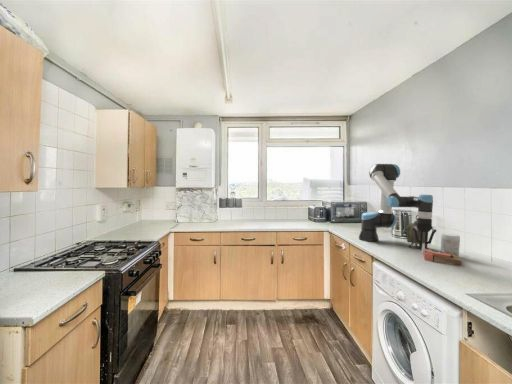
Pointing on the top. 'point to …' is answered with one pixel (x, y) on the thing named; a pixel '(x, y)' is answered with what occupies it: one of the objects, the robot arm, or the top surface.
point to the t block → (430, 255)
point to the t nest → (448, 259)
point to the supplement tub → (450, 243)
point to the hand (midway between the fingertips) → (423, 253)
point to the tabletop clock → (411, 234)
